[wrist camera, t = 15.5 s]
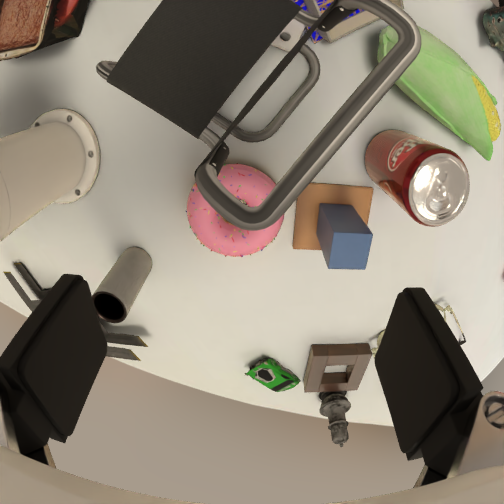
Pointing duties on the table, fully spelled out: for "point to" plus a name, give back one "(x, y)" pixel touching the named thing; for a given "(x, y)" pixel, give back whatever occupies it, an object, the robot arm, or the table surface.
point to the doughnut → (222, 232)
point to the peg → (343, 237)
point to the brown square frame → (336, 355)
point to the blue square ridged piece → (317, 3)
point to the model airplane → (108, 336)
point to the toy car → (273, 375)
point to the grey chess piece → (336, 414)
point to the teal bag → (495, 25)
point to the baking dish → (38, 24)
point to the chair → (234, 70)
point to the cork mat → (331, 195)
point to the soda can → (418, 176)
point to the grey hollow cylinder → (122, 285)
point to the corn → (448, 90)
